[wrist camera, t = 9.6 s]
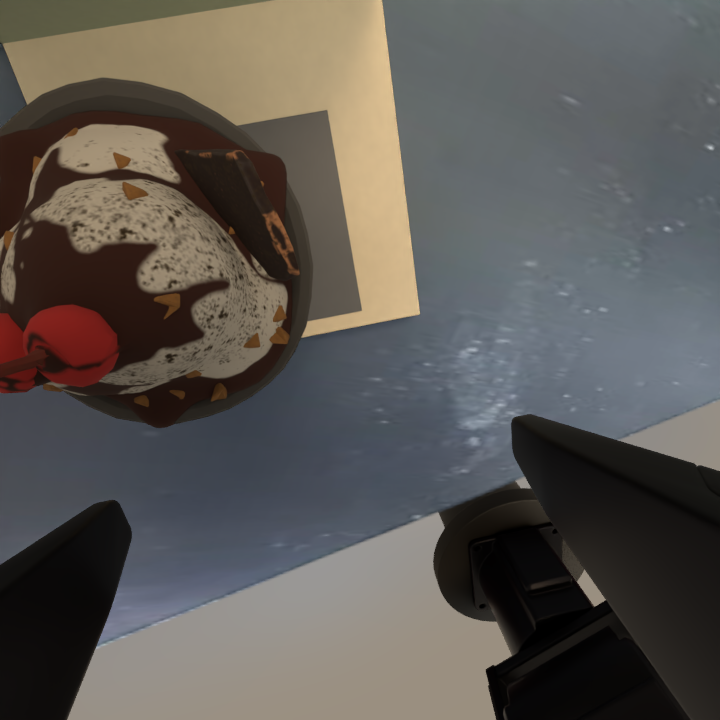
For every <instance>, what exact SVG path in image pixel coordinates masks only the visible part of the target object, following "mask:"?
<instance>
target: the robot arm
mask: <svg viewBox="0 0 720 720" xmlns="http://www.w3.org/2000/svg"><path fill="white" fill-rule="evenodd" d="M511 430H512V449H513V454H514V457H515V459H516V461H517V463H518V465H519V467H520V468H521V470H522V472H523V474H524V476H525V477H526V479H527V481H528V483H529V485H530V486H531V488H532V490H533V492H534V494H535V496H536V497H537V499H538V501H539V503H540V505H541V506H542V508H543V510H544V511H545V513H546V515H547V516H548V518H549V519H550V521H551V522H547V523H543V524H538V525H534V526H529V527H525V528H520V529H516V530H511V531H507V532H502V533H498V534H493V535H489V536H484V537H480V538H475V539H473V540H471V541H470V542H469V544H468V549H469V559H470V569H471V579H472V590H473V600H474V604H475V607H476V609H477V610H478V611H484V610H488V609H491V610H492V612H493V614H494V616H495V619H496V621H497V623H498V625H499V627H500V630H501V632H502V634H503V636H504V639H505V641H506V643H507V645H508V647H509V650H510V652H511V654H512V656H511V657H510V658H508V659H506V660H505V661H503V662H501V663H499V664H498V665H496V666H494V665H492V666H491V667H489V668H487V669H486V674H487V678H488V682H489V686H488V687H489V692H490V696H491V700H492V704H493V708H494V712H495V716H496V720H720V471H717V470H714V469H711V468H707V467H704V466H696V465H695V464H694V463H691V462H687V461H684V460H681V459H677V458H674V457H671V456H667V455H664V454H661V453H658V452H654V451H651V450H647V449H644V448H641V447H637V446H634V445H631V444H627V443H624V442H621V441H618V440H614V439H611V438H608V437H604V436H601V435H598V434H595V433H591V432H588V431H585V430H581V429H578V428H575V427H571V426H568V425H565V424H561V423H558V422H555V421H552V420H548V419H545V418H542V417H538V416H535V415H532V414H527V415H522V416H518V417H514V418H513V419H512V423H511ZM562 538H563V539H564V541H565V542H566V544H567V545H568V547H569V548H570V549H571V551H572V552H573V554H574V555H575V556H576V558H577V559H578V561H579V562H580V564H581V565H582V566H583V568H584V569H585V570H586V572H587V573H588V575H589V576H590V577H591V579H592V580H593V582H594V583H595V585H596V586H597V588H598V589H599V590H600V592H601V593H602V595H603V596H604V598H605V599H606V601H604V602H602V603H601V604H599V605H597V606H595V607H594V606H593V604H592V603H591V601H590V600H589V598H588V597H587V596H586V594H585V593H584V591H583V590H582V589H581V588H580V586H579V584H578V583H577V582H576V580H575V579H574V577H573V576H572V575H571V573H570V572H569V570H568V569H567V568H566V566H565V565H564V563H563V562H562ZM131 539H132V531H131V527H130V525H129V523H128V521H127V519H126V517H125V514H124V512H123V510H122V508H121V506H120V504H119V503H118V502H117V501H115V500H109V501H104V502H99V503H96V504H93V505H92V506H90V507H89V508H87V509H86V510H84V511H82V512H81V513H79V514H78V515H76V516H75V517H73V518H72V519H70V520H69V521H67V522H66V523H64V524H62V525H61V526H59V527H58V528H56V529H55V530H53V531H52V532H50V533H49V534H47V535H46V536H44V537H43V538H41V539H39V540H38V541H36V542H35V543H33V544H32V545H30V546H29V547H27V548H26V549H24V550H23V551H21V552H19V553H18V554H16V555H15V556H13V557H12V558H10V559H9V560H7V561H6V562H4V563H3V564H1V565H0V720H67V718H68V716H69V713H70V711H71V708H72V706H73V703H74V701H75V698H76V696H77V693H78V691H79V688H80V686H81V683H82V681H83V678H84V676H85V673H86V671H87V668H88V666H89V663H90V660H91V658H92V656H93V653H94V650H95V648H96V646H97V643H98V641H99V638H100V636H101V633H102V631H103V628H104V626H105V623H106V621H107V618H108V615H109V613H110V610H111V607H112V604H113V601H114V598H115V594H116V591H117V587H118V584H119V581H120V577H121V574H122V570H123V567H124V563H125V560H126V557H127V553H128V550H129V546H130V543H131ZM476 546H477V547H476Z"/></svg>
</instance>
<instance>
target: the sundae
mask: <svg viewBox="0 0 720 720" xmlns="http://www.w3.org/2000/svg"><path fill="white" fill-rule="evenodd" d="M312 281H313V261H312V255H311V249H310V243H309V237H308V232H307V229H306V225H305V221H304V218H303V214H302V211H301V207H300V205H299V203H298V201H297V199H296V197H295V195H294V193H293V191H292V189H291V187H290V185H289V183H288V181H287V171H286V166H285V164H284V162H283V161H282V159H281V158H280V157H278V156H276V155H274V154H271V153H267V152H265V151H264V150H263V149H262V148H261V147H260V146H259V145H258V144H257V143H256V142H255V141H254V140H253V139H252V138H251V137H250V136H249V135H248V134H247V133H246V132H245V131H243V130H242V129H241V128H239V127H238V126H236V125H235V124H233V123H232V122H230V121H229V120H228V119H226V118H225V117H223V116H222V115H220V114H219V113H217V112H215V111H214V110H212V109H210V108H208V107H206V106H205V105H203V104H201V103H199V102H197V101H195V100H194V99H192V98H190V97H188V96H186V95H184V94H183V93H180V92H177V91H173V90H169V89H166V88H162V87H158V86H155V85H151V84H147V83H144V82H138V81H129V80H121V79H113V78H104V77H102V78H97V79H92V80H87V81H81V82H76V83H71V84H67V85H64V86H62V87H59V88H57V89H54V90H51V91H49V92H46V93H44V94H41V95H40V96H39V97H37V98H36V99H35V100H33V101H32V102H31V103H29V104H28V105H27V106H25V107H24V108H23V109H21V110H20V111H19V112H18V113H17V114H16V115H14V116H13V117H12V118H11V119H10V120H9V121H8V122H7V123H6V124H5V125H4V126H3V127H2V128H1V129H0V392H1V393H18V392H27V391H29V390H30V389H32V388H34V387H35V386H39V385H43V389H44V390H48V391H58V392H61V391H64V392H65V393H67V394H69V395H70V396H72V397H74V398H75V399H77V400H79V401H80V402H82V403H84V404H86V405H87V406H89V407H91V408H94V409H96V410H98V411H101V412H103V413H105V414H108V415H110V416H112V417H115V418H118V419H124V420H130V421H136V422H142V423H147V424H148V425H151V426H153V427H156V428H164V427H168V426H171V425H173V424H178V423H182V422H187V421H191V420H195V419H200V418H204V417H208V416H211V415H214V414H216V413H219V412H222V411H225V410H228V409H231V408H232V407H234V406H236V405H238V404H239V403H241V402H243V401H245V400H246V399H248V398H250V397H252V396H253V395H254V394H256V393H257V392H258V391H260V390H261V389H262V388H264V387H265V386H266V385H268V384H269V383H270V382H271V381H272V380H273V379H274V378H275V377H276V376H277V375H278V374H279V373H280V372H281V371H282V370H283V369H284V368H285V366H286V364H287V363H288V361H289V360H290V358H291V357H292V355H293V353H294V352H295V350H296V348H297V346H298V343H299V341H300V339H301V337H302V335H303V333H304V330H305V328H306V326H307V320H308V315H309V309H310V303H311V298H312Z"/></svg>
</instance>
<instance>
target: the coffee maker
mask: <svg viewBox="0 0 720 720" xmlns="http://www.w3.org/2000/svg"><path fill="white" fill-rule="evenodd" d="M0 43H2V44H3V46H4V49H5V51H6V54H7V56H8V59H9V61H10V64H11V66H12V69H13V71H14V73H15V76H16V78H17V81H18V83H19V86H20V88H21V91H22V93H23V96H24V98H25V101H26V103H27V105H28V104H29V103H31V102H32V101H33V100H35V99H36V98H37V97H39V96H40V95H41V94H44V93H46V92H49V91H51V90H54V89H57V88H59V87H62V86H64V85H67V84H71V83H76V82H81V81H87V80H92V79H97V78H102V77H104V78H113V79H121V80H129V81H138V82H144V83H147V84H151V85H155V86H158V87H162V88H166V89H169V90H173V91H177V92H180V93H183V94H184V95H186V96H188V97H190V98H192V99H194V100H195V101H197V102H199V103H201V104H203V105H205V106H206V107H208V108H210V109H212V110H214V111H215V112H217V113H219V114H220V115H222V116H223V117H225V118H226V119H228V120H229V121H230V122H232V123H233V124H235V125H236V126H238V127H239V128H241V129H242V130H243V131H245V132H246V133H247V134H248V135H249V136H250V137H251V138H252V139H253V140H254V141H255V142H256V143H257V144H258V145H259V146H260V147H261V148H262V149H263V150H264V151H265V152H267V153H271V154H274V155H276V156H278V157H280V158H281V159H282V161H283V162H284V164H285V166H286V171H287V181H288V183H289V185H290V187H291V189H292V191H293V193H294V195H295V197H296V199H297V201H298V203H299V205H300V207H301V211H302V214H303V218H304V221H305V225H306V229H307V232H308V237H309V243H310V249H311V255H312V261H313V281H312V298H311V303H310V309H309V315H308V320H307V326H306V328H305V330H304V333H303V335H302V337H301V338H303V337H308V336H313V335H318V334H323V333H328V332H333V331H338V330H343V329H348V328H353V327H358V326H364V325H369V324H374V323H379V322H384V321H389V320H394V319H399V318H404V317H409V316H414V315H419V314H420V310H419V302H418V294H417V286H416V277H415V269H414V261H413V252H412V244H411V236H410V228H409V219H408V211H407V203H406V195H405V186H404V178H403V170H402V161H401V153H400V145H399V137H398V128H397V120H396V112H395V104H394V95H393V87H392V79H391V71H390V62H389V54H388V46H387V37H386V29H385V21H384V13H383V4H382V0H0Z"/></svg>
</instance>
